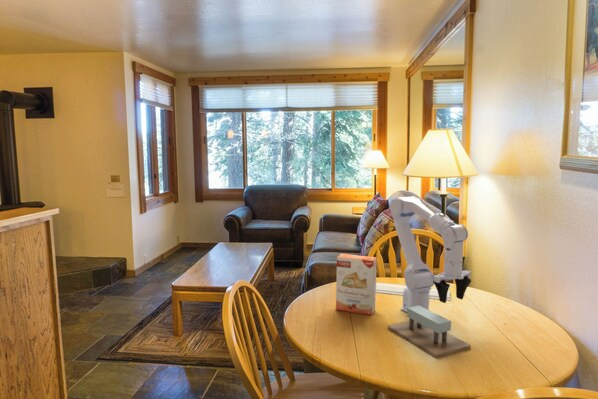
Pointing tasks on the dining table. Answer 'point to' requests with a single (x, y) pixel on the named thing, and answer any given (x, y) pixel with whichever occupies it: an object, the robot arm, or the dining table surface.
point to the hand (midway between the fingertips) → (451, 300)
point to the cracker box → (356, 283)
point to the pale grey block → (429, 319)
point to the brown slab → (429, 338)
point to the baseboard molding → (400, 289)
